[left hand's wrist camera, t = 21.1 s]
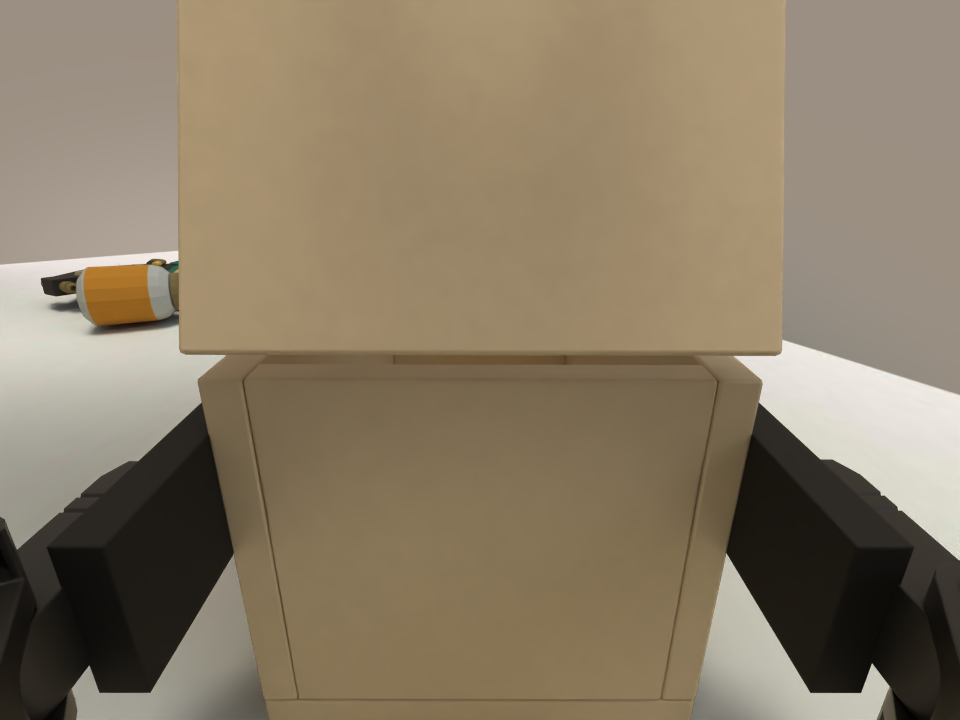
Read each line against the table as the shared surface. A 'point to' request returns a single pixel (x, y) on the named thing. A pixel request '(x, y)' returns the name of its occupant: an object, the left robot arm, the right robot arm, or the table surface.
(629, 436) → the chest
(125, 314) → the spray gun
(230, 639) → the table surface
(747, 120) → the lid
